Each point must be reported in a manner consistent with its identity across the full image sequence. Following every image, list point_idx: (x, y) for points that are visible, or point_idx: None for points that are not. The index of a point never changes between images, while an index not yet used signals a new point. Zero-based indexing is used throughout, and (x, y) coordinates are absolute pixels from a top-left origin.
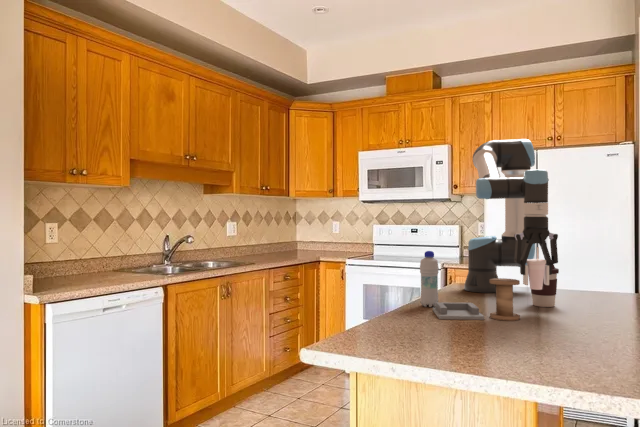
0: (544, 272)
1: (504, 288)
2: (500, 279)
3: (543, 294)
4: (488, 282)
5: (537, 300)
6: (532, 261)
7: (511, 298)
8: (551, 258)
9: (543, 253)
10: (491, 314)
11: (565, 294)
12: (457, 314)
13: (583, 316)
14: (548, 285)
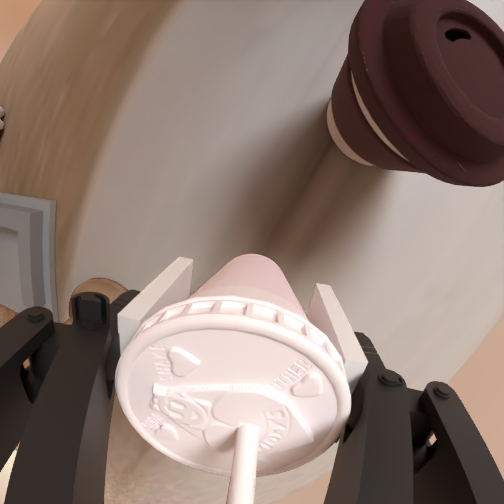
0: (326, 334)
1: None
2: (25, 366)
3: (363, 157)
4: None
5: (335, 135)
6: (157, 448)
7: None
8: (435, 411)
9: (348, 485)
10: (71, 313)
11: (496, 9)
12: (9, 290)
13: (375, 339)
14: (404, 169)
